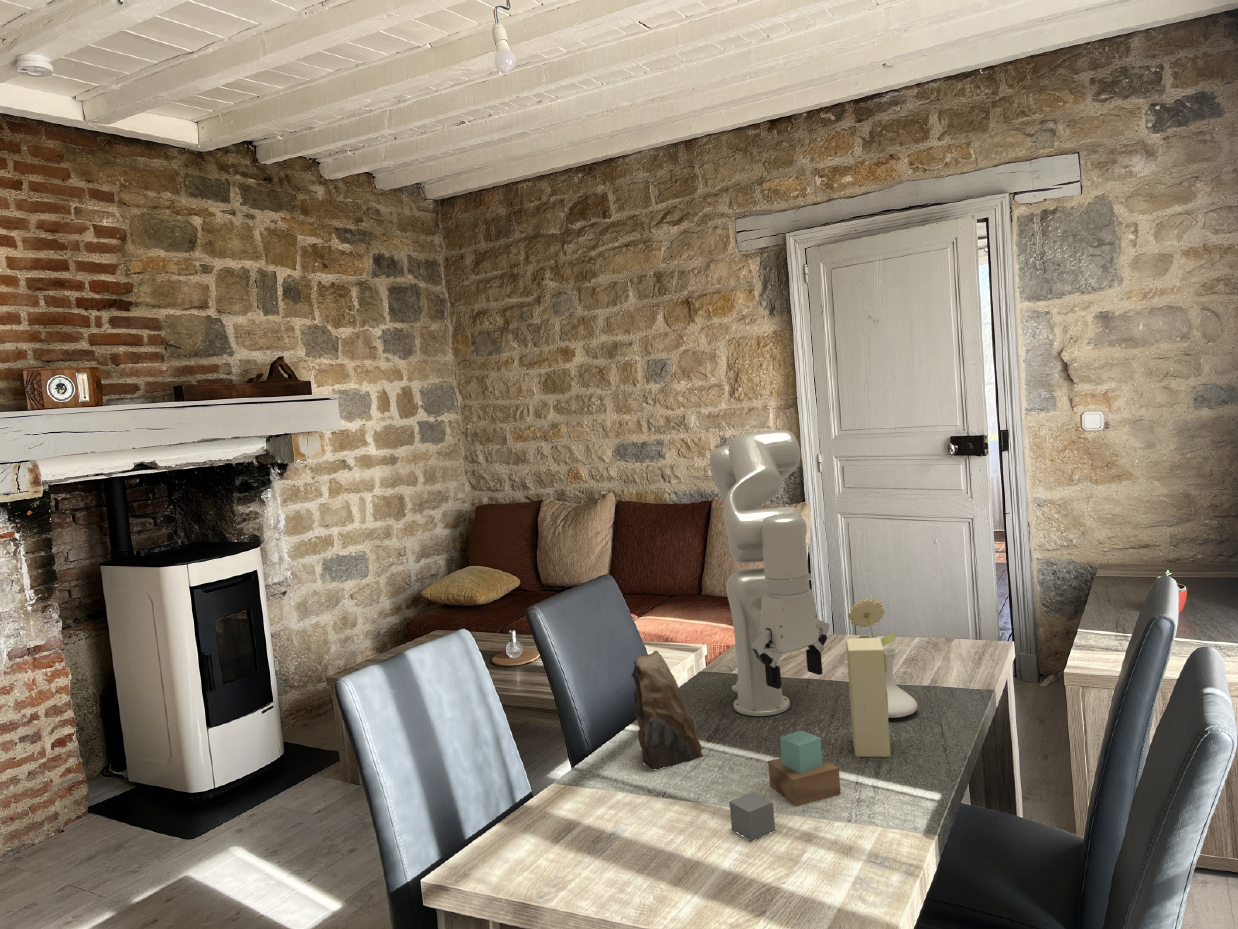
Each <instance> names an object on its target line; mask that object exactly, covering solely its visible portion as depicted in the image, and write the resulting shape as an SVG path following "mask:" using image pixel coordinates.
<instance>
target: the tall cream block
mask: <svg viewBox="0 0 1238 929" xmlns="http://www.w3.org/2000/svg"><path fill="white" fill-rule="evenodd" d="M881 640H882V639H881V638H880V637H874V638H873V637H872V638H859V637H857V638H856V637H854V638H853V637H852V638H846V639H845V644H846V645H845V648H846V658H847V659H846V660H847V675H848V676H847V678H848V690H849V705H850V715H851V716H850V717H851V733H852V742H853V743H852V744H853V751H854V756H855V757H857V758H859V757H866V758H868V757H870V758H873V757H875V758H876V757H879V758H882V757H883V758H884V757H891V742H890V741H891V740H890V727H889V725H890V724H889V718H888V698H887V690H886V678H885V672H887V670H886V655H885V652H884V649H883V647H884V645H882V643H881Z"/></svg>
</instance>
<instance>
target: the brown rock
mask: <svg viewBox="0 0 1238 929" xmlns="http://www.w3.org/2000/svg"><path fill="white" fill-rule="evenodd" d="M633 664H634V667H633V670H632V671H633V672H632V674H631V677H632V678H633V681H634V684H635V685H634V686H635V687H634V688H635V691H634V694H633V697H634V705H635V708H634V709H635V716H636V721H637V723H638V728H639V730H638V732H637V734H638V737H637V739H638V743H639V746H640V748H641V755H642V756H641V757H642V760H643V762H644V763H645V764H646V765H648V766H649V767H650V768H651V769H653V770H652V771H655V770H654V769H660V768H663V767H666V768H668V767H674V766H676V765H680V764H682V762H683V763H688V762H692V761H695V760H696V759H700V758H703V757H704V756H703V752H702V748H703V747H702V744H701V741H700V738H699V736H698V733H697V731H696V728H695V724H694V720H693V719H692V715H691V714H690V711H689V709H688V706H687V703H686V702H685V699H684V696H683V695H682V692H681V690H680V688H679V685H678V683H677V681H676V678H675V676H674V675H673V673H672V672H671V669H670V668H669V665H668V664H667V662H666V660H665V659H664V658H663V656H662V655H661V653H660V652H659V651H658V650H654V651H653V652H652V653H649V654H644V655H640V656H638V657H636V658H635V660H634V661H633ZM691 760H692V761H691ZM643 762H642V763H643ZM644 763H643V764H644ZM679 763H680V764H679ZM646 765H645V766H646ZM673 765H674V766H673ZM648 766H647V767H648ZM649 767H648V768H649ZM650 768H649V769H650ZM651 769H650V770H651ZM663 769H664V768H663ZM660 770H661V769H660Z"/></svg>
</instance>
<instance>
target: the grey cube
mask: <svg viewBox="0 0 1238 929" xmlns="http://www.w3.org/2000/svg"><path fill="white" fill-rule="evenodd" d="M728 803H729V812H730V814H729V815H730V824H731V831H732V830H733V831H732V832H734V831H735V832H738V833H739V834H740V835H739V834H738V835H739V836H741V835H743V836H744V837H745V838H744V837H743V838H744V839H746V838H747V839H749V840H750V841H749V840H748V841H749V842H751V841H753V840H755V839H757V838H759V839H761V837H762V836H764V835H766V836H768V835H767V834H769V833H770V832H773V831H775V832H776V824H775V812H774V802H773V801H771V800H769V799H767V798H765V797H764V796H762V795H760V794H757V793H755V792H754V791H752V792H750V793H747V794H744V795H743V796H740V797H737V798H735V799H732V800H730V801H728ZM735 832H734V833H735ZM773 833H774V832H773ZM769 835H770V834H769ZM764 837H765V836H764ZM762 838H763V837H762ZM747 839H746V840H747ZM757 840H758V839H757ZM755 841H756V840H755ZM753 842H754V841H753Z"/></svg>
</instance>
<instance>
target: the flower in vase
mask: <svg viewBox="0 0 1238 929" xmlns="http://www.w3.org/2000/svg"><path fill="white" fill-rule="evenodd" d="M885 614H886V612H885V608H884V607H883V604H882V602H881V601H876V600H875V599H874V598H872V599H869V598H867V599H865V600H863V599H861V600H858V602H856V603H854V605H852V607H851V608H850V609H849V613H847V618H848V620H849V621H850V624H851V625H854V626H856V627H857V626H859V627H860V628H865V627H867V628H868V627H869V630H870V633H871V636H872V637H871V636H869V635H868V636H867V635H862V636H859V637H858V638H875V637H874V636H875V635H874V633H873V630H872V626H874V625H875V624H876V623H880V622H881V619H882V618H884V615H885ZM896 635H897V632H896V631H895V632H893V633H891V634H888V635H885V636H883V637H882V639H880V640H881V643H882V646H883V649H884V652H885V655H886V670H887V672H885V678H886V690H887V698H888V719H897V718H904V717H906V716H907V717H908V716H910V715H912V714H914V713H915V712H916V711H917V709H918V707H919V706H918V704H917V701H916V700H915V698H914V697H912V695H910V694H908V693H907V692H906V691H905V690H903V689H901V687H899V686H898V685H897V684H896V682H895V680H894V674H893V673H894V671H893V668H894V665H893V664H894V659H895V657H896V654H897V653H898V652H899V649H897V648H896V647H891V646H885V645H888V644H890V643H892V642H893V641H894V640H895V637H896Z"/></svg>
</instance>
